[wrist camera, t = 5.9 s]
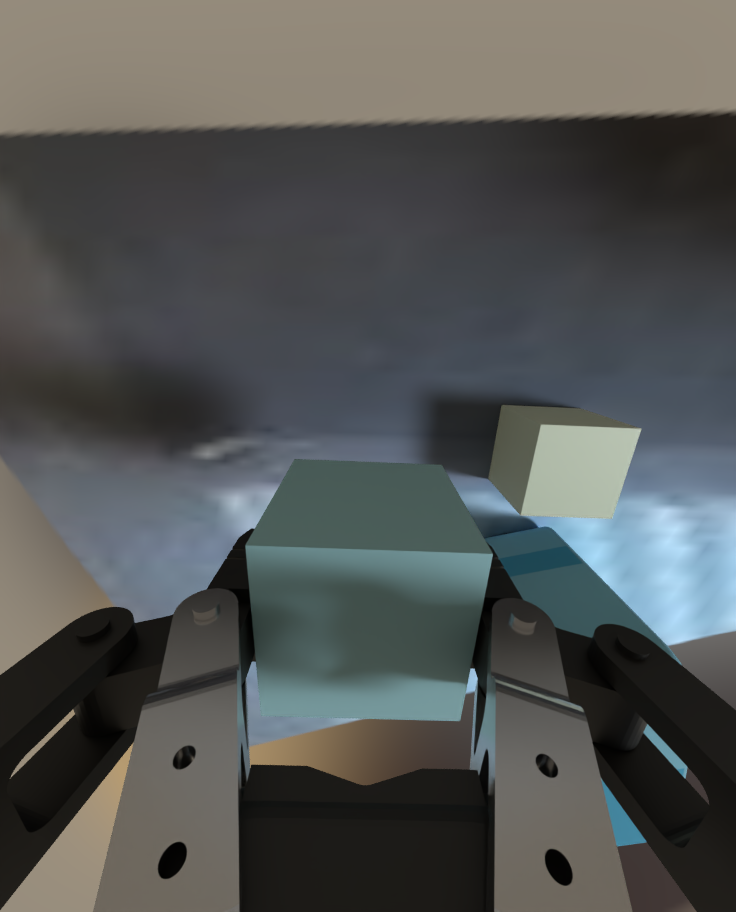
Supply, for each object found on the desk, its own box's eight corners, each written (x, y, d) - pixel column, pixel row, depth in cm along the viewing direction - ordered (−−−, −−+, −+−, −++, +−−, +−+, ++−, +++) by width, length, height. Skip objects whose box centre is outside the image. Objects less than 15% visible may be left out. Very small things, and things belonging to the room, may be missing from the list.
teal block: (295, 459, 12) (245, 545, 7) (441, 465, 12) (493, 553, 7) (298, 579, 13) (260, 716, 8) (426, 584, 13) (459, 720, 9)
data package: (478, 529, 24) (581, 701, 13) (542, 516, 24) (706, 680, 13) (494, 652, 28) (583, 866, 17) (549, 642, 28) (677, 853, 16)
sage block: (501, 404, 21) (541, 424, 16) (579, 408, 21) (641, 428, 17) (488, 478, 23) (520, 515, 18) (560, 481, 23) (612, 518, 18)
